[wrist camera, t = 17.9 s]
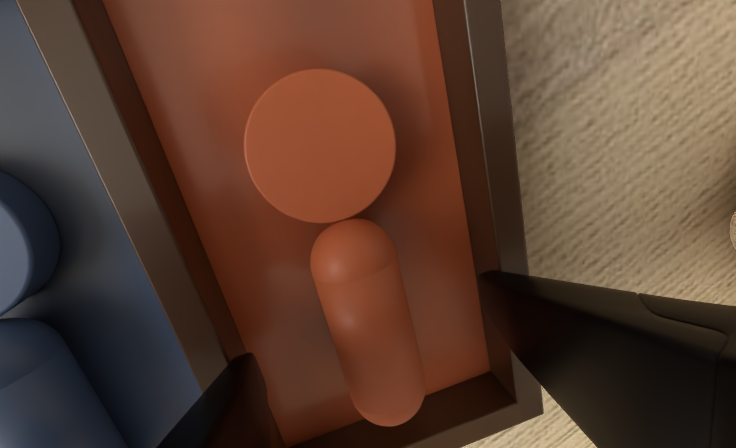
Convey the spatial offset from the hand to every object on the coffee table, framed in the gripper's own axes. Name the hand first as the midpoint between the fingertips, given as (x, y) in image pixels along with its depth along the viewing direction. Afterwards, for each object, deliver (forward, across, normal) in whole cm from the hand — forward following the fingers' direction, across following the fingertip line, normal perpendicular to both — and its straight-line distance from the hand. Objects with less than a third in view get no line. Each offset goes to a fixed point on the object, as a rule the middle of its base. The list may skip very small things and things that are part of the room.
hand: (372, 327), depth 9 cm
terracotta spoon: (+1, 0, -2) cm, 2 cm away
